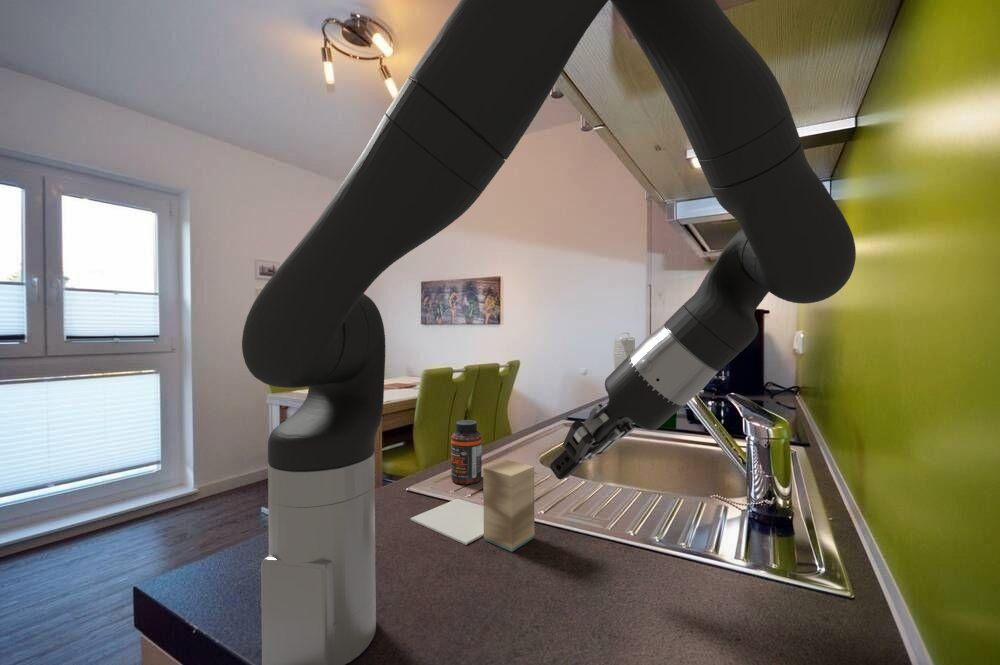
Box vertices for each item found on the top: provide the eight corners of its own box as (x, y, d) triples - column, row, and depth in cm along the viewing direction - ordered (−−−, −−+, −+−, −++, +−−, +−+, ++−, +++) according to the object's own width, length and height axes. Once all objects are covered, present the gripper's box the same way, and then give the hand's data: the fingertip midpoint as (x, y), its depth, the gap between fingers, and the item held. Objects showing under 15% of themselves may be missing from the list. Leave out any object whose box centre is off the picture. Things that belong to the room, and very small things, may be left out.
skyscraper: (618, 410, 154) (617, 332, 154) (639, 412, 149) (638, 332, 149) (610, 414, 147) (609, 332, 147) (631, 416, 143) (631, 332, 143)
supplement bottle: (444, 482, 82) (444, 423, 82) (461, 473, 87) (461, 417, 87) (471, 487, 79) (471, 426, 79) (487, 477, 85) (487, 420, 85)
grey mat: (512, 519, 66) (512, 517, 66) (466, 545, 58) (465, 542, 58) (457, 500, 73) (457, 498, 73) (410, 520, 66) (410, 518, 66)
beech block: (534, 538, 60) (534, 466, 60) (512, 552, 56) (511, 476, 56) (506, 527, 63) (506, 459, 63) (483, 540, 59) (483, 468, 59)
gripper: (664, 408, 39) (546, 514, 45) (701, 400, 49) (600, 487, 56) (610, 348, 42) (507, 455, 49) (655, 353, 53) (565, 440, 59)
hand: (557, 472), depth 52 cm, fingers closed
